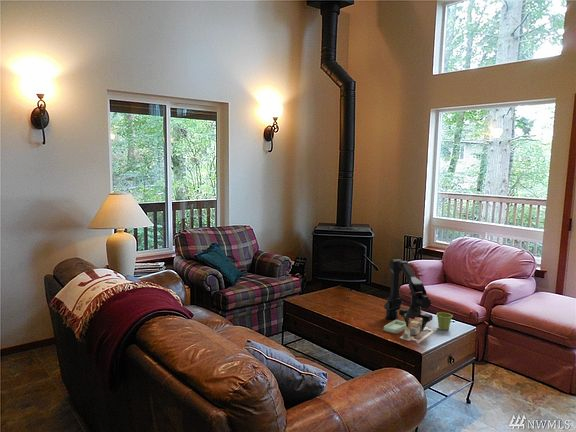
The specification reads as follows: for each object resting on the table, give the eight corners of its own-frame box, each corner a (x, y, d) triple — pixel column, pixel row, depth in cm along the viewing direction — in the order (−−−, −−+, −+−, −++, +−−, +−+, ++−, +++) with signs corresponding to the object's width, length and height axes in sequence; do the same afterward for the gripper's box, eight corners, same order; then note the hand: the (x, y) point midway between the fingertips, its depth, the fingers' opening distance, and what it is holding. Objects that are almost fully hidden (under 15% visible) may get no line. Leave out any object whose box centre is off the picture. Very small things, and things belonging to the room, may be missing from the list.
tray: (383, 330, 249) (383, 326, 249) (395, 323, 262) (395, 319, 262) (396, 334, 244) (396, 330, 243) (408, 326, 256) (408, 322, 256)
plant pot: (433, 328, 254) (433, 314, 254) (439, 324, 261) (440, 311, 260) (448, 332, 248) (449, 318, 247) (454, 328, 255) (455, 314, 254)
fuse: (409, 333, 246) (409, 322, 245) (412, 331, 249) (413, 320, 249) (416, 335, 243) (417, 324, 242) (419, 333, 246) (420, 322, 246)
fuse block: (399, 338, 238) (400, 328, 237) (419, 325, 258) (419, 316, 258) (418, 343, 231) (419, 333, 230) (436, 330, 251) (437, 321, 250)
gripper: (395, 303, 244) (394, 328, 246) (425, 310, 232) (424, 336, 234) (403, 298, 253) (402, 323, 254) (433, 305, 241) (432, 331, 242)
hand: (414, 328), depth 246 cm, fingers open, 9 cm apart
